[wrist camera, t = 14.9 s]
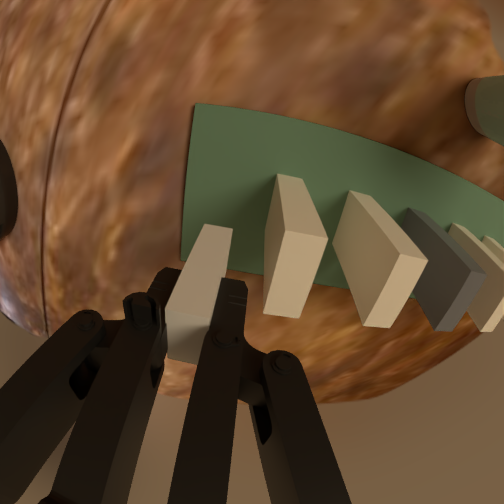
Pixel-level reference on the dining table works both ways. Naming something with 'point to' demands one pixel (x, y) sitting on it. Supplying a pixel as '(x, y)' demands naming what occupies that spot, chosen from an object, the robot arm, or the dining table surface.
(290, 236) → the domino
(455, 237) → the domino
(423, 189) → the mat
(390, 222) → the domino
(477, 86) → the coffee cup
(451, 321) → the slate domino
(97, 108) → the dining table surface
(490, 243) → the domino
